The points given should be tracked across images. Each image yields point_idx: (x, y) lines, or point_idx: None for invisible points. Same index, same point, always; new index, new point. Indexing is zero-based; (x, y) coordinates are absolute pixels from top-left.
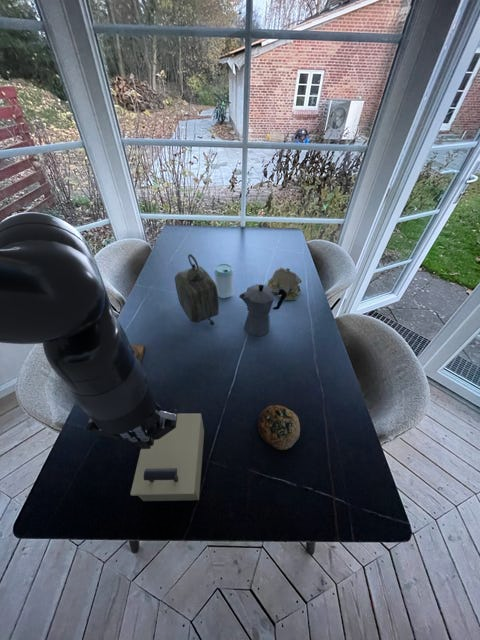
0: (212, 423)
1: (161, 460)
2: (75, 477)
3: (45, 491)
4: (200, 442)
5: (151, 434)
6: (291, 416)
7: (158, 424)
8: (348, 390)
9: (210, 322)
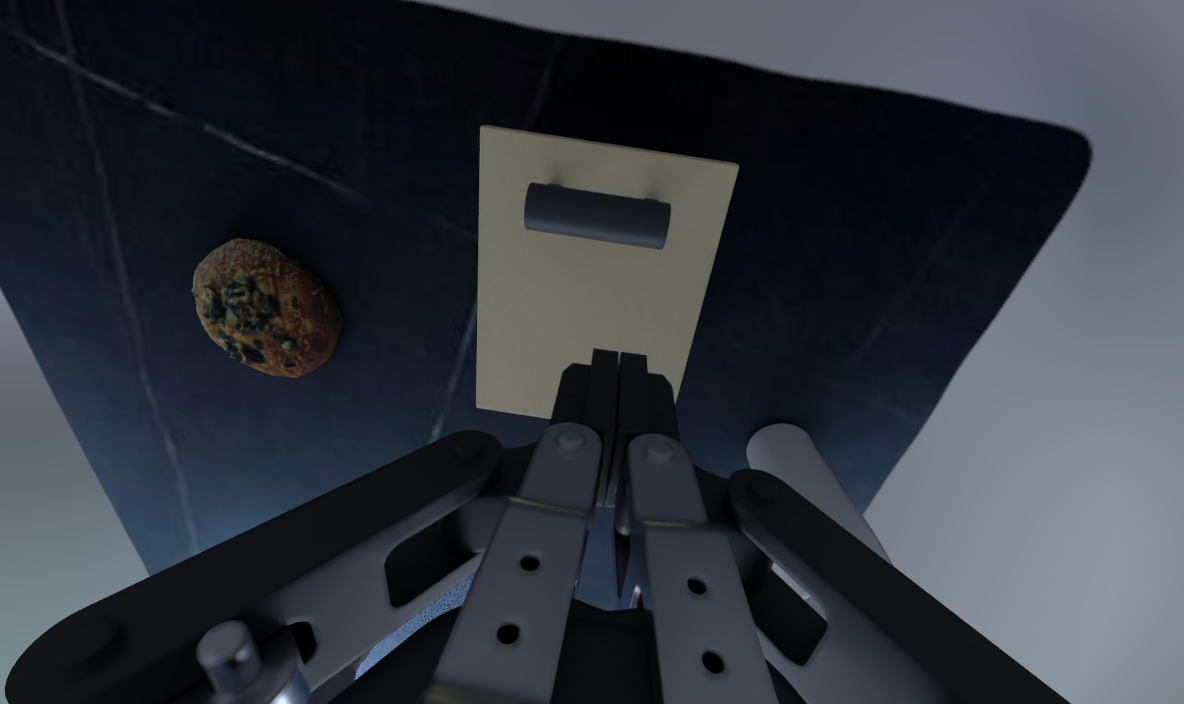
0: None
1: (616, 272)
2: (920, 267)
3: (1018, 242)
4: None
5: (504, 483)
6: (214, 335)
7: (447, 547)
8: (65, 377)
9: None
